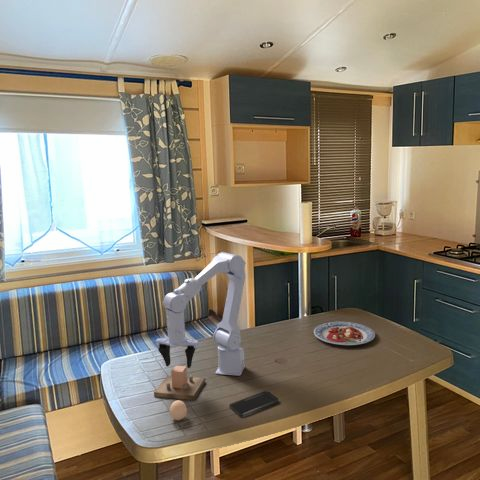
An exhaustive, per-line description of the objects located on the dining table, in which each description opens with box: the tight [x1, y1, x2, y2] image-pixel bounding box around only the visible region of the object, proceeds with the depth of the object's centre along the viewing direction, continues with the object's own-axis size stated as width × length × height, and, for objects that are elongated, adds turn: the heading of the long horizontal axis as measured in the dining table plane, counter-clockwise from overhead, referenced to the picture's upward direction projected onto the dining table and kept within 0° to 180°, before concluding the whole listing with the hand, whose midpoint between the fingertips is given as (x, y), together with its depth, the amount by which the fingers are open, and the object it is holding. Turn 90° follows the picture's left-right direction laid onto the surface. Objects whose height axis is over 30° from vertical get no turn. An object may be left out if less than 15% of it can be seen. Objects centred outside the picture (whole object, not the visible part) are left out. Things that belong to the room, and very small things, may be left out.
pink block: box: [170, 365, 188, 388], centre depth 149 cm, size 4×4×6 cm
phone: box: [229, 390, 280, 418], centre depth 138 cm, size 8×1×15 cm
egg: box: [169, 399, 188, 421], centre depth 131 cm, size 5×5×6 cm
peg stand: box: [153, 374, 206, 401], centre depth 149 cm, size 14×12×4 cm
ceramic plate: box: [313, 321, 376, 346], centre depth 188 cm, size 26×26×3 cm
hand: (178, 365), depth 148 cm, fingers open, 7 cm apart
